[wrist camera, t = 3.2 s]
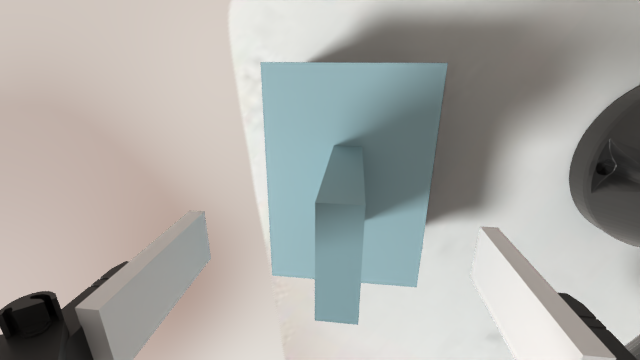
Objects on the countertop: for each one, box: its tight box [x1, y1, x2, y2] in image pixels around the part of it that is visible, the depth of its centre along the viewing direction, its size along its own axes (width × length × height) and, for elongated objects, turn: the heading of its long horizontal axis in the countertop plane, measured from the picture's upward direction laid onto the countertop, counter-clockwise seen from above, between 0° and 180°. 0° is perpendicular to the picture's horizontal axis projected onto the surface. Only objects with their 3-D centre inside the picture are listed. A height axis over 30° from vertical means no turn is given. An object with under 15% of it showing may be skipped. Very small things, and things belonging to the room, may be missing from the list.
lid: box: [261, 62, 448, 325], centre depth 18 cm, size 17×12×11 cm
